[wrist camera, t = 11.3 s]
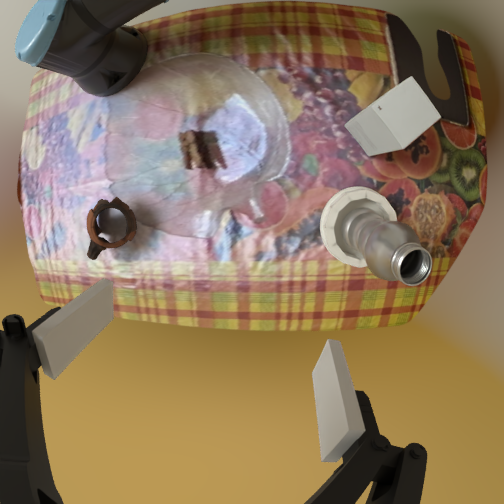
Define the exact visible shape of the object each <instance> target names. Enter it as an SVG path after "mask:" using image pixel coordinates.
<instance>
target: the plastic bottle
mask: <svg viewBox="0 0 504 504" xmlns="http://www.w3.org/2000/svg"><path fill="white" fill-rule="evenodd" d="M341 233H342V237H343V240H344V241H345V243H346V244H347V245H348V246H349V247H350V248H352V249H354V250H356V251H359V252H360V253H361V254H362V255H363V257H364V259H365V261H366V264H367V266H368V267H369V269H370V270H371V272H372V273H373V274H374V275H375V276H377V277H378V278H381V279H384V280H388V281H396V280H400V281H401V282H403V283H404V284H406V285H409V286H415V285H418V284H420V283H422V282H423V281H424V280H426V278H427V277H428V276H429V274H430V272H431V269H432V258H431V255H430V253H429V252H428V251H427V250H426V249H424V248H423V247H422V246H421V244H420V240H419V238H418V236H417V234H416V233H415V231H414V230H413V229H412V228H411V227H410V226H409V225H407V224H405V223H402V222H398V221H388V220H385V219H383V218H382V217H381V216H380V215H379V214H378V213H377V212H376V211H375V210H373V209H370V208H365V207H362V208H356V209H353V210H352V211H350V212H349V213H348V214H347V215H346V216H345V217H344V219H343V222H342V225H341Z"/></svg>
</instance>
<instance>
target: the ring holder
mask: <svg viewBox="0 0 504 504" xmlns="http://www.w3.org/2000/svg"><path fill="white" fill-rule="evenodd" d="M362 207H365V208H370V209H373V210H375V211H376V212H377V213H378V214H379V215H380V216H381V217H382V218H383V219H385V220H388V221H397V217H396V213H395V210H394V209H393V208H392V206H391V205H390V204H389V202H388V201H387V200H386V198H385V197H384V196H382V195H380V194H379V193H378V192H376V191H374V190H372V189H370V188H366V187H360V186H355V187H349V188H345V189H343V190H341V191H339V192H337V193H336V194H335V195H333V196H332V197H331V198H330V199H329V201H328V202H327V203H326V205H325V207H324V209H323V211H322V214H321V218H320V234H321V237H322V240H323V243H324V245H325V246H326V248H327V249H328V251H329V252H330V253H331V254H332V255H333V256H334V257H335V258H337V259H338V260H340V261H341V262H342V263H345V264H349V265H352V266H355V267H358V268H359V267H360V268H361V267H365V266H367V264H366V261H365V259H364V257H363V255H362V254H361V253H360V252H359V251H356V250H354V249H352V248H350V247H349V246H348V245H347V244H346V243H345V241H344V240H343V237H342V233H341V225H342V222H343V219H344V217H345V216H346V215H347V214H348V213H349V212H350V211H352V210H353V209H356V208H362Z"/></svg>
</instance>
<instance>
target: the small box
mask: <svg viewBox="0 0 504 504" xmlns="http://www.w3.org/2000/svg"><path fill="white" fill-rule="evenodd" d="M440 118H441V116H440V114H439V113H438V111H437V110H436V108H435V107H434V106H433V104H432V103H431V101H430V100H429V98H428V97H427V96H426V94H425V93H424V92H423V90H422V89H421V88H420V86H419V85H418V84H417V82H416V81H415V80H414V78H413V77H409V78H407V79H406V80H404V81H403V82H401V83H400V84H399V85H397V86H396V87H394V88H393V89H391V90H390V91H388V92H387V93H386V94H384V95H383V96H381V97H380V98H379V99H377V100H376V101H375V102H373V103H372V104H371V105H369V106H368V107H367V108H365V109H364V110H363V111H361V112H360V113H359V114H357V115H356V116H355V117H353V118H352V119H351V120H350V121H348V122H347V123H346V124H345V125H344V126H345V127H346V128H347V130H348V131H349V132H350V133H351V135H352V136H353V137H354V138H355V139H356V141H357V142H358V143H359V144H360V146H361V147H362V148H363V150H364V151H365V152H366V154H367V155H368V156H374V155H378V154H383V153H387V152H392V151H397V150H403V149H405V148H406V147H407V146H409V145H410V144H411V143H412V142H413V141H415V140H416V139H417V138H418V137H419V136H420V135H422V134H423V133H424V132H425V131H426V130H428V129H429V128H430V127H431V126H432V125H433V124H434V123H436V122H437V121H438V120H439V119H440Z"/></svg>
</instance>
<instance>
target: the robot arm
mask: <svg viewBox="0 0 504 504" xmlns="http://www.w3.org/2000/svg"><path fill="white" fill-rule="evenodd" d="M168 1H169V0H38V2H37V3H36V4H35V5H34V6H33V7H32V9H31V10H30V12H29V13H28V15H27V16H26V18H25V20H24V22H23V24H22V26H21V28H20V30H19V33H18V36H17V39H16V44H15V53H16V56H17V58H18V59H19V60H21V61H23V62H26V63H28V64H30V65H31V66H36V67H40V68H43V69H47V70H50V71H54V72H57V73H60V74H63V75H66V76H70V77H72V78H73V79H74V80H75V82H76V83H77V84H78V85H79V86H80V87H81V88H82V89H83V90H84V91H85V92H87V93H89V94H92V95H95V96H108V95H111V94H114V93H116V92H118V91H119V90H121V89H122V88H124V87H125V86H126V85H127V84H129V83H130V82H131V81H132V80H133V79H134V77H135V76H136V75H137V74H138V72H139V71H140V69H141V67H142V66H143V63H144V61H145V59H146V55H147V41H146V39H145V37H144V35H143V34H142V33H140V32H139V31H138V30H137V29H135V28H133V27H131V26H126V25H124V24H125V23H127V22H129V21H130V20H132V19H133V18H135V17H137V16H138V15H140V14H142V13H144V12H146V11H148V10H150V9H151V8H153V7H155V6H157V5H159V4H161V3H163V2H164V3H166V2H168ZM113 319H114V317H113V281H110V280H107V279H104V278H103V279H101V280H100V281H99V282H97V283H96V284H94V285H93V286H91V287H90V288H89V289H87V290H86V291H84V292H83V293H82V294H80V295H79V296H77V297H76V298H75V299H73V300H72V301H71V302H69V303H68V304H67V305H65V306H64V307H62V308H61V307H57V308H54V309H51V310H50V311H48V312H47V313H46V314H45V315H43V316H42V317H41V318H39V319H38V320H36V321H35V322H34V323H32V324H31V325H30V326H28V327H27V328H26V327H25V323H24V319H23V318H22V316H20V315H16V314H13V315H9V316H6V317H5V318H4V319H3V321H2V325H3V328H4V331H2V330H0V504H63V501H62V499H61V497H60V495H59V493H58V491H57V489H56V487H55V484H54V480H53V477H52V472H51V469H50V464H49V459H48V455H47V449H46V443H45V437H44V430H43V423H42V414H41V402H40V385H39V371H38V368H39V367H40V366H41V365H42V368H43V371H44V373H45V374H46V375H48V376H49V377H51V378H52V379H54V380H55V379H56V378H57V377H58V376H59V375H60V374H61V373H62V372H63V370H64V369H65V368H66V367H67V366H68V365H69V364H70V363H71V362H72V361H73V360H74V359H75V357H76V356H78V354H79V353H80V352H81V351H82V350H83V349H84V348H85V347H86V346H87V345H88V344H89V343H90V342H91V341H92V340H93V339H94V338H95V337H96V335H98V334H99V333H100V332H101V331H102V330H103V329H104V328H105V327H106V326H107V325H108V324H109V323H110V322H111V321H112V320H113ZM312 376H313V385H314V393H315V401H316V410H317V419H318V429H319V440H320V451H321V461H322V462H337V461H338V460H339V459H340V458H341V457H342V458H343V464H342V465H341V466H339V467H338V468H337V469H336V470H335V471H334V473H333V475H332V476H331V477H330V478H329V479H328V480H327V481H326V482H325V483H324V484H323V485H322V486H321V488H320V489H319V490H318V491H317V492H316V493H315V494H314V495H313V496H312V497H311V498H309V499H308V500H307V501H306V502H305V503H304V504H355V503H356V501H357V500H358V499H359V497H360V496H361V495H362V493H363V492H364V490H365V489H366V488H367V486H368V485H369V484H370V482H371V481H373V485H372V488H371V491H370V493H369V496H368V499H367V501H366V504H420V500H421V495H422V489H423V484H424V478H425V471H426V463H427V451H426V450H425V448H424V447H423V446H422V445H420V444H418V443H411V444H409V445H408V446H406V447H405V448H400V447H396V446H393V445H391V444H390V442H389V440H388V439H387V438H386V437H384V436H382V435H380V433H379V430H378V426H377V423H376V420H375V416H374V413H373V410H372V407H371V404H370V400H369V398H368V396H367V395H366V394H365V393H364V391H356V390H354V386H353V382H352V379H351V376H350V372H349V369H348V365H347V362H346V359H345V355H344V352H343V349H342V346H341V343H340V341H337V340H331V339H328V340H327V342H326V345H325V347H324V349H323V351H322V354H321V356H320V358H319V360H318V362H317V364H316V366H315V368H314V370H313V372H312Z"/></svg>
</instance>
